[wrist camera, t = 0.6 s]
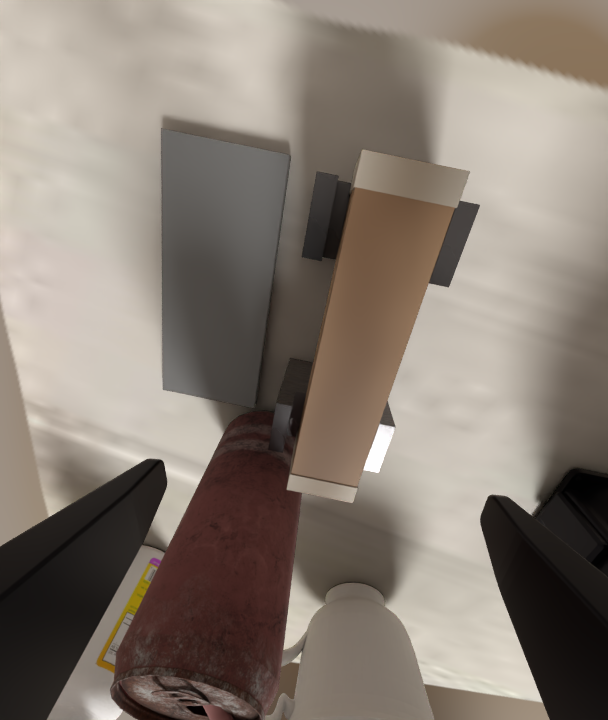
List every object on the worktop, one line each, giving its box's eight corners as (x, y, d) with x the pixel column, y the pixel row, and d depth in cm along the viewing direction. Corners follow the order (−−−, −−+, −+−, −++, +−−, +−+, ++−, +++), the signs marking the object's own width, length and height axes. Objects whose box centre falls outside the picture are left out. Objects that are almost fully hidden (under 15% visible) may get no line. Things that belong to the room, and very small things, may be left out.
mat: (290, 156, 16) (289, 154, 15) (255, 403, 22) (253, 408, 22) (167, 131, 16) (161, 128, 15) (166, 385, 22) (162, 389, 22)
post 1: (434, 209, 16) (480, 205, 11) (415, 267, 18) (448, 287, 13) (321, 186, 16) (317, 171, 11) (310, 246, 18) (302, 257, 13)
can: (284, 483, 25) (232, 761, 13) (213, 447, 24) (80, 711, 12) (326, 435, 22) (314, 725, 10) (249, 392, 21) (126, 655, 9)
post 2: (380, 376, 20) (395, 427, 15) (367, 414, 22) (378, 472, 17) (290, 358, 20) (276, 403, 15) (282, 396, 22) (268, 449, 17)
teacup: (275, 540, 28) (247, 696, 19) (438, 576, 28) (488, 747, 19) (256, 614, 33) (227, 766, 24) (394, 644, 33) (418, 806, 24)
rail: (436, 183, 12) (470, 171, 9) (349, 456, 18) (352, 503, 15) (354, 166, 12) (362, 149, 9) (294, 445, 18) (286, 489, 15)
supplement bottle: (114, 574, 32) (-11, 777, 20) (117, 533, 29) (-26, 741, 18) (177, 591, 32) (90, 801, 21) (186, 552, 30) (91, 769, 18)
